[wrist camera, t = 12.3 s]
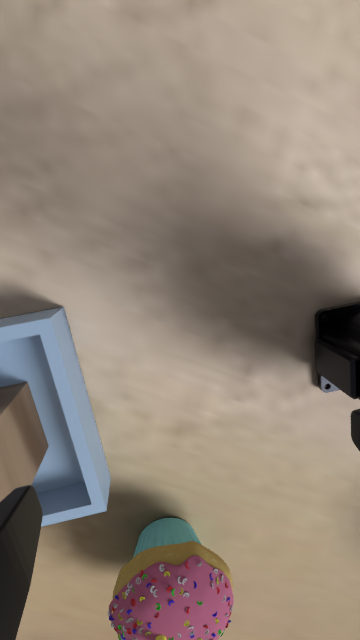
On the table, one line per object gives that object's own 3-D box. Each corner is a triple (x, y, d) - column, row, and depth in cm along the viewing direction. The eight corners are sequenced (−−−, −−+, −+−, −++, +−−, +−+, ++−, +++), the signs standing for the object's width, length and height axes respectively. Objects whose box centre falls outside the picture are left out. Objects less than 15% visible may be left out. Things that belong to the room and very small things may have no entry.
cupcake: (101, 567, 25) (68, 840, 14) (137, 485, 24) (135, 715, 12) (194, 584, 27) (235, 839, 16) (234, 509, 26) (311, 729, 14)
